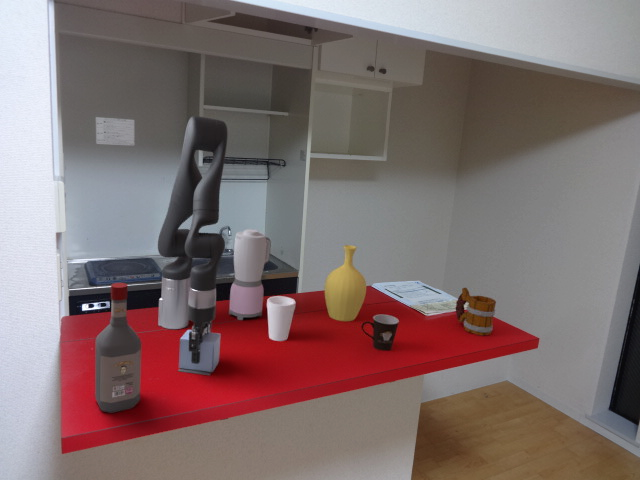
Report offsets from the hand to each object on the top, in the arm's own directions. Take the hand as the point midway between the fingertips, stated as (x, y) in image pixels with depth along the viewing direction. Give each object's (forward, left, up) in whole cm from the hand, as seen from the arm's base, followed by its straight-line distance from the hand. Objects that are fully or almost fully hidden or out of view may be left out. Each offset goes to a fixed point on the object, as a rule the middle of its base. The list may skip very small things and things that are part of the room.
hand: (199, 357), depth 143 cm
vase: (+40, +54, -3) cm, 67 cm away
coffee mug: (+53, +30, -3) cm, 61 cm away
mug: (+91, +58, -3) cm, 108 cm away
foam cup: (+19, +27, -3) cm, 33 cm away
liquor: (-13, -23, -3) cm, 27 cm away
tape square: (0, 0, -3) cm, 3 cm away
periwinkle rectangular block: (0, 0, -2) cm, 2 cm away
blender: (+5, +45, -3) cm, 45 cm away
